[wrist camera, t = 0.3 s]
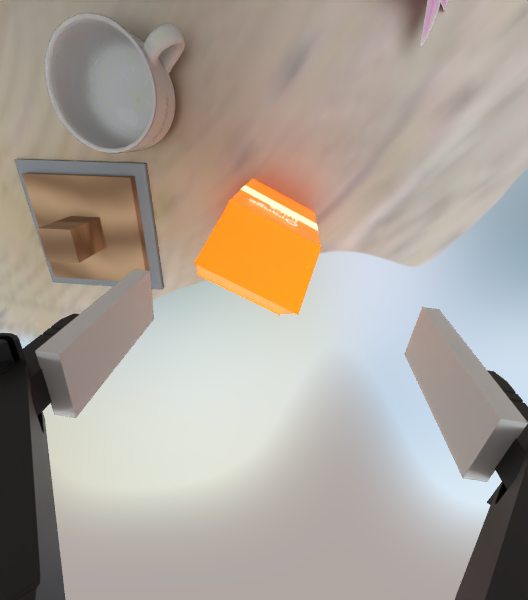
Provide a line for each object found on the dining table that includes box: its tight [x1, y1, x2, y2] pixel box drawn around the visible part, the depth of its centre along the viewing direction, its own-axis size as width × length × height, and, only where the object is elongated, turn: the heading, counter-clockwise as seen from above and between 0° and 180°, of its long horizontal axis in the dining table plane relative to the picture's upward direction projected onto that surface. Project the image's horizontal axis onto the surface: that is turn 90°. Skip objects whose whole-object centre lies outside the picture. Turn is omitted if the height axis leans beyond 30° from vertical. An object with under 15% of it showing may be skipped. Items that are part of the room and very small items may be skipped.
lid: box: [22, 173, 150, 281], centre depth 40 cm, size 14×14×7 cm
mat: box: [14, 159, 164, 289], centre depth 44 cm, size 17×17×1 cm
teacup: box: [45, 13, 185, 153], centre depth 32 cm, size 14×11×8 cm
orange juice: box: [194, 179, 321, 315], centre depth 32 cm, size 8×9×20 cm
